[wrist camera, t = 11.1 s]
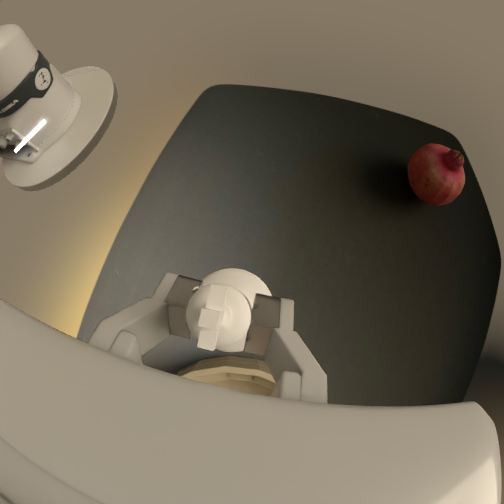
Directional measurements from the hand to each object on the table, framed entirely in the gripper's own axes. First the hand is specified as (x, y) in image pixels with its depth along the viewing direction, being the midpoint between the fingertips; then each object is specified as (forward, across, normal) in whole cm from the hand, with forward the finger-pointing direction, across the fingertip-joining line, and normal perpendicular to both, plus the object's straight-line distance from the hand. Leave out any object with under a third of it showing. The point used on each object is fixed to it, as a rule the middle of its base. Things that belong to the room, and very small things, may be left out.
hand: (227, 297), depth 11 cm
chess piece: (+4, 0, +4) cm, 6 cm away
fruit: (+28, -21, 0) cm, 35 cm away
